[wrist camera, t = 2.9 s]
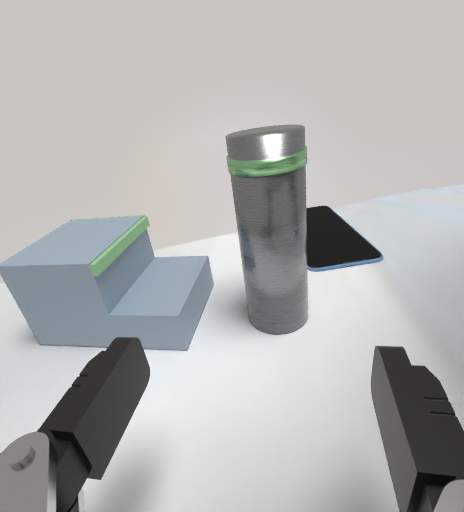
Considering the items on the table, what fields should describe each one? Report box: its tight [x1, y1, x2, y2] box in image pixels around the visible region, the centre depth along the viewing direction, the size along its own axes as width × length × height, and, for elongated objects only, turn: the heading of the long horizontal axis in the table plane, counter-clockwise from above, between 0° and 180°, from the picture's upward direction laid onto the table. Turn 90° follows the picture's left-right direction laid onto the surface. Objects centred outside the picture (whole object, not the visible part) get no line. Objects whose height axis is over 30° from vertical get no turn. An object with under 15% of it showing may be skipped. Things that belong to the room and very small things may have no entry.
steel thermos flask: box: [226, 125, 308, 334], centre depth 21 cm, size 5×5×13 cm
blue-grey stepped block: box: [0, 215, 213, 350], centre depth 25 cm, size 12×8×7 cm
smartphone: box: [306, 206, 383, 271], centre depth 35 cm, size 7×1×15 cm
